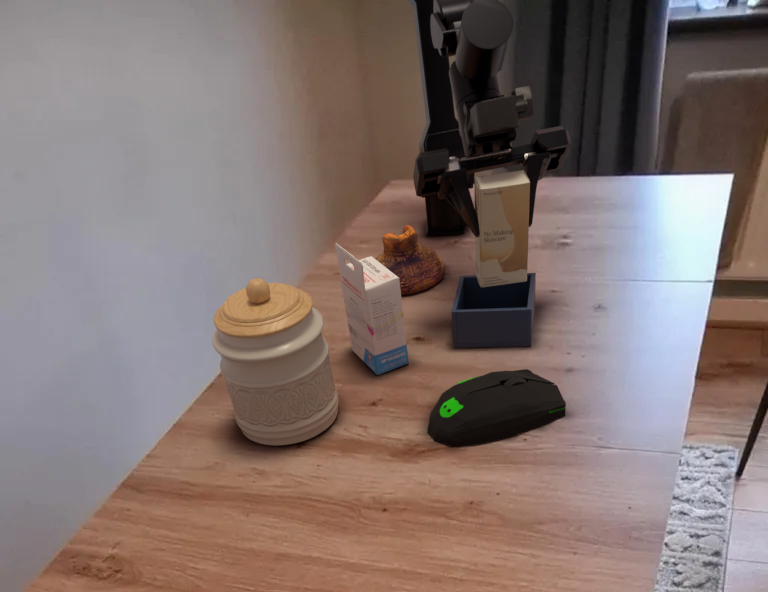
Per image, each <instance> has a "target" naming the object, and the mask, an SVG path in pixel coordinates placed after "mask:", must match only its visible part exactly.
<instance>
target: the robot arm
mask: <svg viewBox="0 0 768 592" xmlns="http://www.w3.org/2000/svg"><path fill="white" fill-rule="evenodd" d="M407 2H408V3H409V4H410V6H411V7H412V13H413V20H414V21H413V22H414V29H415V37H416V45H417V47H416V48H417V54H418V63H419V71H420V72H419V73H420V78H421V88H422V96H423V104H424V105H423V106H424V113H425V126H424V129H423V132H422V135H421V137H420V140H419V143H418V148H419V153H418V154H417V156H416V157H415V159H414V169H413V185H414V191H415V195H416V196H417V197H419V198H422V199H424V202H425V203H424V204H425V215H426V230H425V236H427V237H432V236H450V235H464V234H465V233H466V230H467V227H468V229H469V230H470V231H471V233H472V234H473V236H474V238H475V237H479V235H480V231H479V224H478V219H477V215H476V212H475V204H474V201H473V198H472V195H471V191H470V189H471V190H472V189H474V177H475V176H476V175H475V174H476V173H481V172H485V171H486V172H487V171H491V170H496V169H501V168H506V167H511V166H517V165H520V168H521V170H524V171H525V173H526V175H527V177H528V179H529V181H530V199H529V228H531V227H532V225H533V219H534V211H535V202H536V195H537V188H538V183H539V181H541V180H542V179H543V178H544V176H545V174H546V173H552V172H556V171H558V170H559V169H562V167H563V165H564V163H565V161H566V158H567V156H568V154H569V152H570V151H571V148H572V146H573V145H572V141H571V136H570V132H569V131H568V130H567V129H566V128H565V127H564V126H563V125H558V126H554V127H547V128H543V129H537V130H534V132H533V135H532V138H531V140H530V143H528V144H522V145H517V146H512V142H514V141H516V139H517V130H516V129H519V128H520V126H521V124H520V122H522V121H526V120H529V119H531V118H533V116H534V114H535V106H534V98H533V93H532V89H531V86H530V85H529V84H528V85H524V86H519V87H515V88H514V89H513V90H512V91H511V93H510V94H511V95H508V96H505V94H502V91H501V84H500V80H499V72H500V71H502V69H503V65H504V63H505V58H506V55H507V51H508V47H509V45H510V40H511V36H512V34H513V28H514V18H513V14H512V12H510V10H509V8H508V7H507V6H506V5H505V4H504V3H503V2H502V1H500V0H407ZM450 57H454V60H453V61H452V63H451V64H450ZM455 112H456V113H455Z"/></svg>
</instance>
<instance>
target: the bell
mask: <svg viewBox="0 0 768 592" xmlns="http://www.w3.org/2000/svg"><path fill="white" fill-rule="evenodd" d="M381 239H382V240H381V241H382V245H383V252H381V254H379V255H378V256H376V257H375V258H374V259H376V260H377V261H378V262H379V263H381V264H382V265H383V266H385V267H386V268H387V269H388V270H390V271H391V272H392V273H394V274H395V275H396V276H397V277H399V280H400V290H401V296H405V295H412V294H417V293H421V292H423V291H425V290H428V289H430V288H432V287H433V286H435V285H437V284H438V283H439V282H440V281H441V280H442V279H443V278H444V276H445V272H446V267H445V265H444V262H443V260H442V258H441V257H440V256H439V255H438V253H437V252H436V251H435V250H433V249H432V248H430V247H428V246H425V245H421V244H420V243H419V235H418V232H417V230H416V229H415V228H414V227H413V226H411V225H408V224H406V225H404V226H403V227H402V233H401V234H398V235H397V234H394V233H392V232H386V233H384V234H383V235H382V238H381Z"/></svg>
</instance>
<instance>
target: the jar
mask: <svg viewBox="0 0 768 592" xmlns="http://www.w3.org/2000/svg"><path fill="white" fill-rule="evenodd" d="M313 304H314V303H313V298H312V297H311V295H310V294H309V293H307V292H306V291H305V290H303V289H300V288H297V287H294V286H292V285H289V284H287V283H283V282H267V281H266V280H264V279H263V278H259V277H256V278H252V279H250V280H249V281H248V283H247V284H246V287H243V288H241V289H239V290H238V291H235V292H234V293H232V294H231V295H230V296H229V297H227V298H226V300H225V301H224V302H223V303H222V304H221V305H220V306H219V307H218V308H217V309H216V311H215V313H214V315H213V324H214V327H215V330H214V331H213V334H212V336H211V337H212V338H211V344H212V347H213V349H214V350H215V352H217V354H219V355H220V358H221V359H220V363H219V369H220V373H221V375H222V377H223V378H224V381H225V384H226V388H227V392H228V395H229V397H230V400H231V401H230V402H231V404H232V408H233V410H232V411H233V412H232V413H233V416H234V418H235V422H236V424H237V426H238V428H239V429H240V431H241V432H242V435H244V436H245V438H247V439H249V440H250V441H253V442H254V443H257V444H261V445H265V446H287V445H293V444H299V443H302V442H305V441H307V440H310V439H313V438H314V437H316V436H318V435H320V434H322V433H323V432H324V431H326V430H328V428H329V427H330V426H331V425H332V424H333V423H334V422H335V420H336V418H337V416H338V413H339V401H340V399H339V394H338V388H337V386H336V384H335V380H334V375H333V369H332V364H331V359H330V355H329V352H330V346H329V343H328V341H327V339H326V338H325V337H324V336H323V333H322V332H323V329H324V326H325V321H324V316H323V315H322V312H320V311H319V310H318V309H317V308H315V307H314V305H313Z"/></svg>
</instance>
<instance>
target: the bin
mask: <svg viewBox="0 0 768 592" xmlns="http://www.w3.org/2000/svg"><path fill="white" fill-rule="evenodd" d="M536 277H537V273H536V272H527V281H525V282H518V283H511V284H504V285H496V286H488V287H480V285H479V282H478V279H477V276H476V274H470V275H469V274H468V275H460V276H459V279H458V283H457V287H456V291H455V295H454V300H453V304H452V308H451V311H450V316H451V329H452V345H453V348H454V349H465V348H467V349H468V348H470V349H471V348H512V347H532V343H533V333H534V326H535V325H534V324H535V314H536V290H537V289H536V287H537V286H536V284H537V283H536V279H537V278H536Z"/></svg>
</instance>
